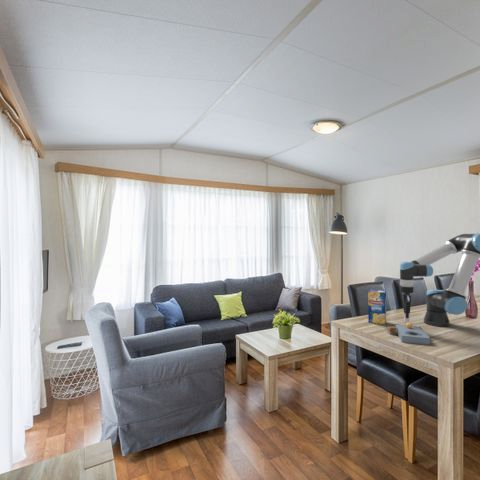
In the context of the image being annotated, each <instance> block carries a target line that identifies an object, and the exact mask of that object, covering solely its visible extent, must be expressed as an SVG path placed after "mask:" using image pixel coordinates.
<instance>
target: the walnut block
mask: <svg viewBox="0 0 480 480" xmlns="http://www.w3.org/2000/svg"><path fill="white" fill-rule="evenodd" d="M386 329H387V330H386V332H387V333H388V334H389V335H392V336H393V335H394V336H395V335H397V336H398V334H397V328H396V327H395V326H393V325H391V326H387V327H386Z"/></svg>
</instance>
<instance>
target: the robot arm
mask: <svg viewBox="0 0 480 480" xmlns="http://www.w3.org/2000/svg"><path fill="white" fill-rule="evenodd" d="M460 252H461V254H462V255H461V257H460V260H459V262H458V264H457V267H456V269H455V272H454V274H453V276H452V279H451V281H450V284H449V286H448V288H446V289H427V290H426V294H425V295H426V311H425V314H424V317H423V323H425V324H426V325H429V326H432V327H433V326H434V327H449V326H450V325H451V321H450V319H449V316H448V314H449V315H453V316H454V315H456V316H457V315H462V314H463V313H465V311H466V310H467V309H468V302H467V300H466V298H467V296H466V290H467V289H468V288H467V287H468V285H469V284H470V281H471V278H472V275H473V273H474V270H475V268H476V266H477V263H478V261H479V259H480V233H479V232H478V233H462V234H459V235H457V236H454V237H453V238H450V239H448V240H447V241H445V242H444V244H442V245H440V246H438V247H436V248H434V249H432V250H430V251H429V252H427V253H425V254H423V255H421V256H420V257H418V258H416V259H414V260H411V261H401V262H400V264H399V281H398V282H399V285H400V286H399V291H400V292H401V293H403V294H402V305H403V317H404V318H403V319H404V320H403V321H404V324H407V323H408V322H410V313H411V302H412V295H411V294H412V293H414V283H415V281H414V278H415V277H417V278H418V277H422V278H423V277H424V278H425V277H427V278H428V277H431V276H433V274H434V268H433V266H432V264H434V263H436V262H438V261H440V260H442V259H444V258H446V257H448V256H450V255H456V254H457V253H460Z"/></svg>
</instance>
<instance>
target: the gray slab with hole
mask: <svg viewBox="0 0 480 480" xmlns="http://www.w3.org/2000/svg"><path fill="white" fill-rule="evenodd" d="M394 327H396V328H397V336H398V338H399V339H400V342H401V343H410V344H419V345H431V337H430V336H429V335H428V334H427V333H426V332H425V330H424V329H423V328H422V327H421V326H417V325H415V326H414V325H413V327H412V328H408V327H407V326H406V325H404V324H403V325H399V324H395V326H394Z"/></svg>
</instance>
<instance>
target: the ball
mask: <svg viewBox="0 0 480 480" xmlns="http://www.w3.org/2000/svg"><path fill="white" fill-rule="evenodd" d="M405 326H407V327H408V328H412V327H413V326H414V325H413V323H412V322H410V321H409V322H408V323H405Z"/></svg>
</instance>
